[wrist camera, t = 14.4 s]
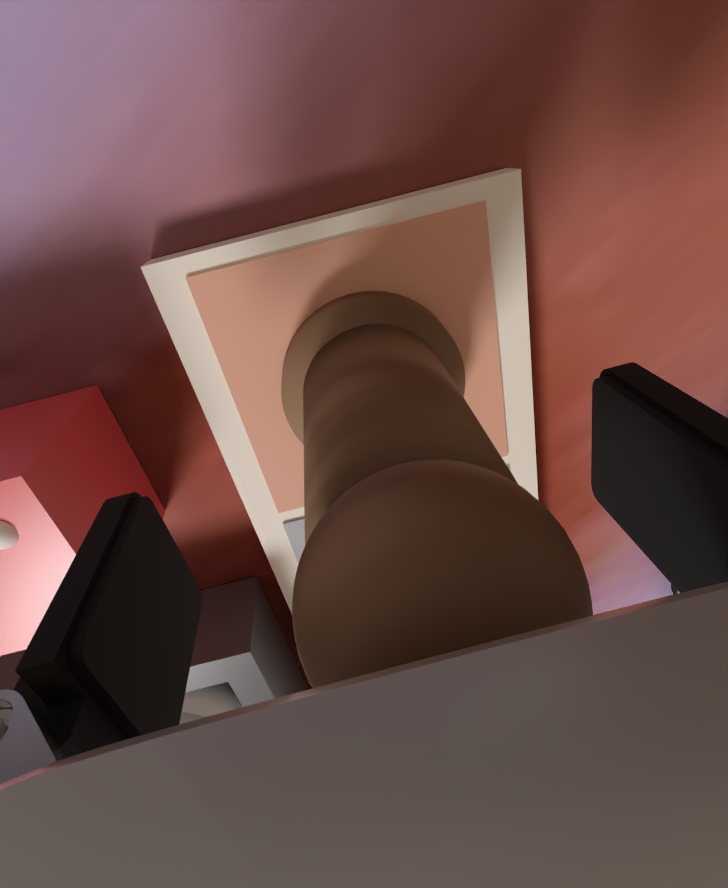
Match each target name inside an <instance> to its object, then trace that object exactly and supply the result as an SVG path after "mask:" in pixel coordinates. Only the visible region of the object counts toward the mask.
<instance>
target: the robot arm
mask: <svg viewBox="0 0 728 888" xmlns="http://www.w3.org/2000/svg"><path fill="white" fill-rule="evenodd" d="M591 485H592V490H593V493H594V496H595V498H596V499H597V501H598V502H599V503H600V504H601V505H602V506H603V507H604V509H605V510H606V511H607V512H608V513H609V514H610V515H611V516H612V518H613V519H614V520H615V521H616V522H617V523H618V524H619V525H620V526H621V528H622V529H623V530H624V531H625V532H626V533H627V534H628V535H629V537H630V538H631V539H632V540H633V541H634V542H635V543H636V544H637V545H638V547H639V548H640V549H641V550H642V551H643V552H644V553H645V554H646V556H647V557H648V558H649V559H650V560H651V561H652V562H653V563H654V564H655V566H656V567H657V568H658V569H659V570H660V571H661V572H662V573H663V575H664V576H665V577H666V578H667V579H668V580H669V581H670V582H671V583H672V585H673V586H674V587H675V588H676V589H677V590H678V591H679V592H680V593H678V594H674V595H670V596H666V597H662V598H658V599H655V600H651V601H647V602H643V603H639V604H635V605H631V606H627V607H623V608H619V609H615V610H612V611H608V612H604V613H600V614H596V615H592V616H588V617H584V618H580V619H576V620H572V621H569V622H565V623H561V624H557V625H553V626H549V627H545V628H541V629H537V630H533V631H529V632H526V633H522V634H518V635H514V636H510V637H506V638H503V639H499V640H495V641H491V642H487V643H483V644H480V645H476V646H472V647H468V648H464V649H460V650H457V651H453V652H449V653H445V654H441V655H437V656H434V657H430V658H426V659H422V660H418V661H415V662H411V663H407V664H403V665H399V666H396V667H392V668H388V669H384V670H380V671H376V672H373V673H369V674H365V675H361V676H357V677H354V678H350V679H346V680H342V681H339V682H335V683H331V684H327V685H324V686H320V687H316V688H312V689H309V690H305V691H301V692H298V693H294V694H290V695H286V696H283V697H279V698H275V699H271V700H268V701H264V702H260V703H256V704H253V705H249V706H245V707H241V708H238V709H234V710H230V711H227V712H223V713H219V714H215V715H212V716H208V717H204V718H201V719H197V720H193V721H190V722H186V723H183V724H179V723H180V718H181V713H182V707H183V702H184V697H185V692H186V686H187V681H188V676H189V670H190V665H191V660H192V655H193V649H194V644H195V639H196V633H197V628H198V623H199V617H200V612H201V607H202V594H201V590H200V587H199V585H198V583H197V582H196V580H195V578H194V576H193V574H192V572H191V571H190V569H189V567H188V565H187V563H186V561H185V560H184V558H183V556H182V554H181V552H180V551H179V549H178V547H177V545H176V543H175V541H174V540H173V538H172V536H171V534H170V532H169V530H168V529H167V527H166V525H165V523H164V521H163V520H162V518H161V516H160V514H159V512H158V510H157V509H156V507H155V505H154V503H153V501H152V500H151V499H150V498H149V497H148V496H144V497H142V496H141V495H140V494H139V493H137V492H132V493H128V494H124V495H120V496H116V497H113V498H109V499H106V500H105V501H104V503H103V504H102V506H101V508H100V510H99V512H98V514H97V516H96V518H95V520H94V522H93V523H92V525H91V527H90V529H89V531H88V533H87V535H86V537H85V539H84V541H83V542H82V544H81V546H80V548H79V550H78V552H77V554H76V556H75V558H74V560H73V561H72V563H71V565H70V567H69V569H68V571H67V573H66V575H65V577H64V579H63V580H62V582H61V584H60V586H59V588H58V590H57V592H56V594H55V596H54V598H53V599H52V601H51V603H50V605H49V607H48V609H47V611H46V613H45V615H44V617H43V618H42V620H41V622H40V624H39V626H38V628H37V630H36V632H35V634H34V636H33V637H32V639H31V641H30V643H29V645H28V647H27V649H26V651H25V653H24V655H23V656H22V658H21V660H20V662H19V664H18V666H17V668H16V670H15V672H16V673H17V674H18V675H19V676H20V678H19V680H18V682H17V684H16V686H15V688H14V690H8V689H4V690H0V888H728V418H726V417H724V416H723V415H721V414H719V413H718V412H716V411H714V410H713V409H711V408H709V407H708V406H706V405H704V404H703V403H701V402H699V401H698V400H696V399H694V398H693V397H691V396H689V395H688V394H686V393H684V392H683V391H681V390H679V389H678V388H676V387H674V386H673V385H671V384H669V383H668V382H666V381H664V380H663V379H661V378H659V377H658V376H656V375H654V374H653V373H651V372H650V371H648V370H646V369H645V368H643V367H641V366H640V365H638V364H636V363H633V362H632V363H627V364H623V365H619V366H615V367H612V368H608V369H604V370H603V371H602V372H601V374H600V377H599V378H597V379H595V380H594V382H593V387H592V468H591Z"/></svg>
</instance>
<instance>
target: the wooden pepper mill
mask: <svg viewBox="0 0 728 888" xmlns="http://www.w3.org/2000/svg"><path fill="white" fill-rule="evenodd" d="M465 381H466V380H465V369H464V364H463V359H462V356H461V354H460V351H459V349H458V347H457V345H456V343H455V341H454V340H453V338H452V337H451V335H450V334H449V333H448V331H447V330H446V329H445V328H444V326H443V325H442V324H441V322H440V321H439V320H438V318H437V317H436V316H435V315H433V314H432V313H431V312H430V311H429V310H428V309H427V308H425V307H424V306H423V305H421V304H420V303H418V302H416V301H414V300H412V299H410V298H408V297H405V296H402V295H399V294H395V293H391V292H385V291H362V292H357V293H352V294H348V295H345V296H342V297H339V298H336V299H334V300H332V301H330V302H328V303H326V304H325V305H323V306H322V307H320V308H319V309H317V310H316V311H315V312H314V313H312V314H311V315H310V316H309V317H308V318H307V319H306V320H305V321H304V322H303V323H302V325H301V326H300V327H299V328H298V330H297V331H296V333H295V334H294V336H293V337H292V340H291V342H290V344H289V346H288V348H287V351H286V355H285V358H284V363H283V370H282V382H281V397H282V405H283V409H284V413H285V416H286V419H287V421H288V423H289V425H290V427H291V429H292V431H293V432H294V434H295V435H296V437H297V438H298V439H299V440H300V441H301V443H302V444H303V445H304V522H305V547H304V550H303V552H302V555H301V557H300V561H299V564H298V568H297V572H296V576H295V581H294V588H293V597H292V620H293V630H294V637H295V642H296V646H297V651H298V655H299V658H300V661H301V663H302V666H303V669H304V671H305V674H306V676H307V678H308V681H309V683H310V685H311V687H312V688H316V687H320V686H324V685H327V684H331V683H335V682H339V681H342V680H346V679H350V678H354V677H357V676H361V675H365V674H369V673H373V672H376V671H380V670H384V669H388V668H392V667H396V666H399V665H403V664H407V663H411V662H415V661H418V660H422V659H426V658H430V657H434V656H437V655H441V654H445V653H449V652H453V651H457V650H460V649H464V648H468V647H472V646H476V645H480V644H483V643H487V642H491V641H495V640H499V639H503V638H506V637H510V636H514V635H518V634H522V633H526V632H529V631H533V630H537V629H541V628H545V627H549V626H553V625H557V624H561V623H565V622H569V621H572V620H576V619H580V618H584V617H588V616H592V615H593V611H592V601H591V595H590V590H589V584H588V581H587V578H586V575H585V571H584V569H583V566H582V563H581V560H580V558H579V555H578V553H577V551H576V550H575V548H574V546H573V544H572V542H571V541H570V539H569V537H568V535H567V533H566V532H565V530H564V528H563V527H562V526H561V525H560V524H559V522H558V521H557V520H556V519H555V517H554V516H553V515H552V514H551V513H550V511H549V510H548V509H547V508H546V507H545V506H544V505H543V504H542V503H541V502H540V501H539V500H537V499H536V498H535V497H534V496H533V495H531V494H530V493H529V492H528V491H527V490H526V489H524V488H523V487H521V486H520V485H518V483H517V481H516V480H515V478H514V476H513V474H512V473H511V471H510V470H509V468H508V467H507V465H506V463H505V462H504V460H503V459H502V457H501V456H500V454H499V452H498V451H497V449H496V448H495V446H494V445H493V443H492V441H491V440H490V438H489V437H488V435H487V434H486V432H485V430H484V429H483V427H482V426H481V424H480V423H479V421H478V419H477V418H476V416H475V415H474V413H473V412H472V410H471V408H470V407H469V405H468V404H467V402H466V401H465V399H464V393H465Z"/></svg>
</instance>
